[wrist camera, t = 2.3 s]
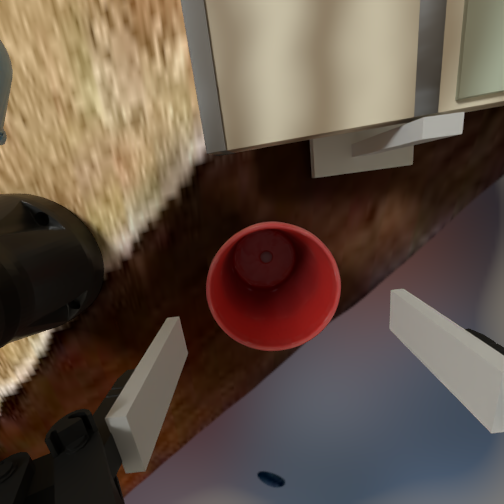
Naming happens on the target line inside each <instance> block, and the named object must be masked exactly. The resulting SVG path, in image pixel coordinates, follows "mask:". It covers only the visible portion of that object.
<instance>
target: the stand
mask: <svg viewBox="0 0 504 504" xmlns="http://www.w3.org/2000/svg"><path fill="white" fill-rule="evenodd" d="M463 122H464V112H458V113H451V114H444V115H436V116H429V117H423V118H420V119H418V120H415V121H412V122H410V123H402V124H396V125H390V126H385V127H379V128H373V129H368V130H362V131H356V132H350V133H345V134H339V135H333V136H328V137H322V138H316V139H310V156H311V173H312V178H319V177H326V176H333V175H341V174H348V173H356V172H363V171H370V170H378V169H385V168H392V167H400V166H407V165H413V151H414V145H417V144H421V143H425V142H430V141H434V140H438V139H443V138H447V137H451V136H455V135H460V134H462V131H463Z"/></svg>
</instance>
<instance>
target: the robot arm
mask: <svg viewBox="0 0 504 504" xmlns="http://www.w3.org/2000/svg"><path fill="white" fill-rule="evenodd" d="M11 82H12V65H11V61H10V58H9V55H8V52H7V50H6V48H5V47H4V45H3V43H2V41H1V40H0V145H3V144H5V141H6V138H7V135H6V133H5V131H4V129H3V126H4V121H5V115H6V110H7V104H8V99H9V93H10V88H11ZM103 276H104V267H103V260H102V256H101V252H100V250H99V247H98V245H97V243H96V241H95V239H94V237H93V236H92V234H91V233H90V231H89V230H88V229H87V228H86V226H85V225H84V224H83V223H82V222H81V221H80V220H79V219H78V218H77V217H76V216H75V215H73V214H72V213H71V212H70V211H68V210H67V209H65V208H64V207H62V206H60V205H59V204H57V203H55V202H53V201H50V200H48V199H45V198H42V197H39V196H35V195H29V194H0V348H1V347H3V346H5V345H6V344H8V343H10V342H13V341H16V340H19V339H22V338H25V337H28V336H31V335H34V334H37V333H40V332H43V331H46V330H49V329H52V328H55V327H58V326H60V325H63V324H65V323H67V322H68V321H70V320H72V319H73V318H75V317H76V316H77V315H79V314H80V313H81V312H83V311H84V310H85V309H86V308H88V307H89V306H90V305H91V304H92V303H93V301H94V300H95V299H96V297H97V296H98V294H99V292H100V289H101V286H102V283H103ZM390 300H391V301H390V330H391V331H392V332H393V333H394V334H395V335H396V336H397V337H398V338H399V340H400V341H401V342H402V343H403V344H404V345H405V346H406V347H407V348H409V350H410V351H411V352H412V353H413V354H414V355H415V356H416V357H417V358H418V359H419V360H420V361H421V362H422V363H423V364H424V365H425V366H426V367H427V368H428V369H429V370H430V371H431V372H432V373H433V374H434V375H435V376H436V377H437V378H438V379H439V380H440V381H441V382H442V383H443V384H444V385H445V386H446V387H447V388H448V389H449V391H450V392H451V393H452V394H453V395H455V397H456V398H457V399H458V400H459V401H460V402H461V403H462V404H463V405H464V406H465V407H466V408H467V409H468V410H469V411H470V412H471V413H472V414H473V415H474V416H475V417H476V418H477V419H478V420H479V421H480V422H481V423H482V424H483V425H484V426H485V427H486V428H487V429H488V430H489V431H490V432H491V433H499V432H504V347H502V346H501V345H499V344H496V343H495V342H494V341H493V340H491V339H490V338H488V337H486V336H485V335H483V334H481V333H478V332H476V331H473V330H471V329H463V328H462V327H460V326H459V325H457V324H456V323H454V322H453V321H451V320H450V319H448V318H447V317H445V316H444V315H442V314H441V313H439V312H438V311H436V310H435V309H433V308H432V307H430V306H429V305H427V304H426V303H424V302H423V301H421V300H420V299H418V298H417V297H415V296H413V295H412V294H411V293H409V292H407V291H406V290H405V289H396V290H391V298H390ZM187 355H188V351H187V347H186V343H185V339H184V334H183V330H182V326H181V322H180V318H179V316H178V317H170V318H167V319H166V320H165V322H164V324H163V325H162V327H161V329H160V330H159V332H158V333H157V335H156V337H155V338H154V340H153V341H152V343H151V345H150V346H149V348H148V350H147V351H146V353H145V354H144V356H143V358H142V359H141V361H140V362H139V364H138V366H137V367H136V369H132V370H127V371H126V372H125V373H124V374H123V375H121V376H120V377H119V378H118V379H117V381H116V382H115V384H114V385H113V387H112V389H111V390H110V391H109V393H108V394H107V395H106V398H104V400H103V401H102V403H101V404H100V406H99V407H98V409H97V410H96V412H95V413H94V415H93V416H92V414H91V412H90V411H89V410H87V409H80V410H76V411H74V412H71V413H69V414H67V415H66V416H64V417H63V418H61V419H60V420H59V421H58V422H57V423H55V424H54V425H53V426H52V427H51V429H50V430H49V432H48V433H47V435H46V438H45V442H46V444H47V446H48V448H49V450H50V452H51V453H50V454H47V455H45V456H42V457H40V458H37V459H35V460H32V459H31V457H30V456H29V454H28V453H27V452H20V453H17V454H14V455H11V456H9V457H8V458H6V459H4V460H2V461H1V462H0V504H125V503H124V499H123V496H122V492H121V488H120V484H119V481H118V478H117V475H116V474H117V472H118V470H119V468H120V465H121V463H122V464H123V467H124V469H125V472H126V473H133V472H142V471H146V468H147V465H148V463H149V460H150V457H151V454H152V452H153V449H154V446H155V443H156V441H157V438H158V435H159V432H160V430H161V427H162V424H163V421H164V419H165V416H166V413H167V410H168V408H169V405H170V402H171V399H172V397H173V394H174V391H175V388H176V386H177V383H178V380H179V377H180V374H181V372H182V369H183V366H184V363H185V361H186V358H187Z"/></svg>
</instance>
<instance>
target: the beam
mask: <svg viewBox="0 0 504 504" xmlns="http://www.w3.org/2000/svg"><path fill="white" fill-rule="evenodd" d="M181 5H182V11H183V17H184V22H185V28H186V34H187V40H188V46H189V52H190V58H191V63H192V69H193V75H194V81H195V87H196V93H197V99H198V104H199V110H200V116H201V122H202V128H203V134H204V140H205V145H206V151H207V154H211V155H216V156H221V155H226V154H232V153H236V152H242V151H247V150H253V149H259V148H265V147H270V146H276V145H282V144H287V143H293V142H299V141H305V140H310V139H316V138H322V137H328V136H333V135H339V134H345V133H350V132H356V131H362V130H368V129H373V128H379V127H385V126H390V125H396V124H402V123H410V122H412V121H415V120H418V119H420V118H423V117H429V116H436V115H444V114H451V113H458V112H464V113H465V112H471V111H476V110H482V109H488V108H493V107H499V106H504V0H181Z"/></svg>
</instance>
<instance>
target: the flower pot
mask: <svg viewBox="0 0 504 504" xmlns="http://www.w3.org/2000/svg"><path fill="white" fill-rule="evenodd" d="M340 294H341V279H340V274H339V269H338V266H337V263H336V261H335V259H334V257H333V255H332V253H331V252H330V250H329V249H328V248H327V247H326V245H325V244H324V243H323V242H322V241H321V240H320V239H319V238H318V237H316V236H315V235H314V234H312V233H311V232H309V231H307V230H305V229H303V228H301V227H298V226H295V225H292V224H288V223H283V222H262V223H257V224H254V225H251V226H248V227H246V228H244V229H242V230H240V231H239V232H237V233H236V234H234V235H233V236H232V237H231V238H229V239H228V240H227V241H226V242H225V243H224V244H223V245H222V247H221V248H220V249H219V250H218V252H217V253H216V255H215V257H214V259H213V260H212V263H211V265H210V268H209V271H208V275H207V282H206V296H207V302H208V305H209V309H210V311H211V313H212V315H213V317H214V319H215V321H216V322H217V324H218V325H219V326H220V328H221V329H222V330H223V331H224V332H225V333H226V334H227V335H228V336H230V337H231V338H232V339H234V340H235V341H237V342H239V343H241V344H243V345H245V346H248V347H250V348H254V349H258V350H264V351H279V350H286V349H290V348H294V347H297V346H300V345H302V344H304V343H306V342H308V341H309V340H311V339H313V338H314V337H315V336H317V335H318V334H319V333H320V332H321V331H322V330H323V329H324V328H325V327H326V326H327V325H328V323H329V322H330V321H331V319H332V318H333V316H334V314H335V312H336V309H337V307H338V304H339V300H340Z"/></svg>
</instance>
